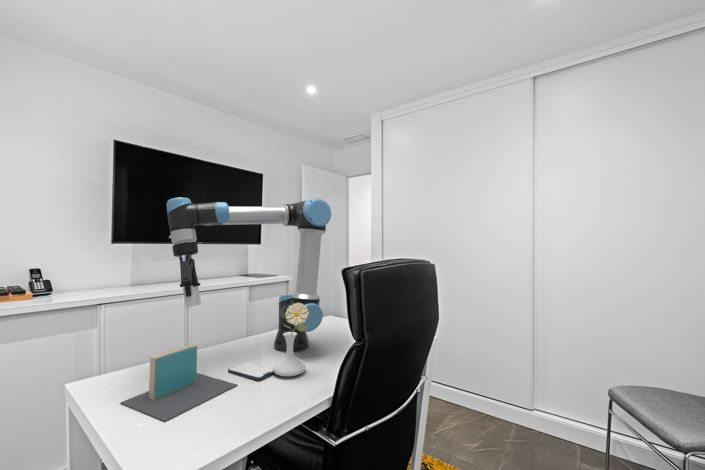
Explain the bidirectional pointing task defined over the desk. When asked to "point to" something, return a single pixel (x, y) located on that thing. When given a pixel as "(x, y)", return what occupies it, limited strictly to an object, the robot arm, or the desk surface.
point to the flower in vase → (290, 362)
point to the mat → (179, 398)
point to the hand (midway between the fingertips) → (194, 306)
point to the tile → (172, 371)
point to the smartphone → (251, 371)
